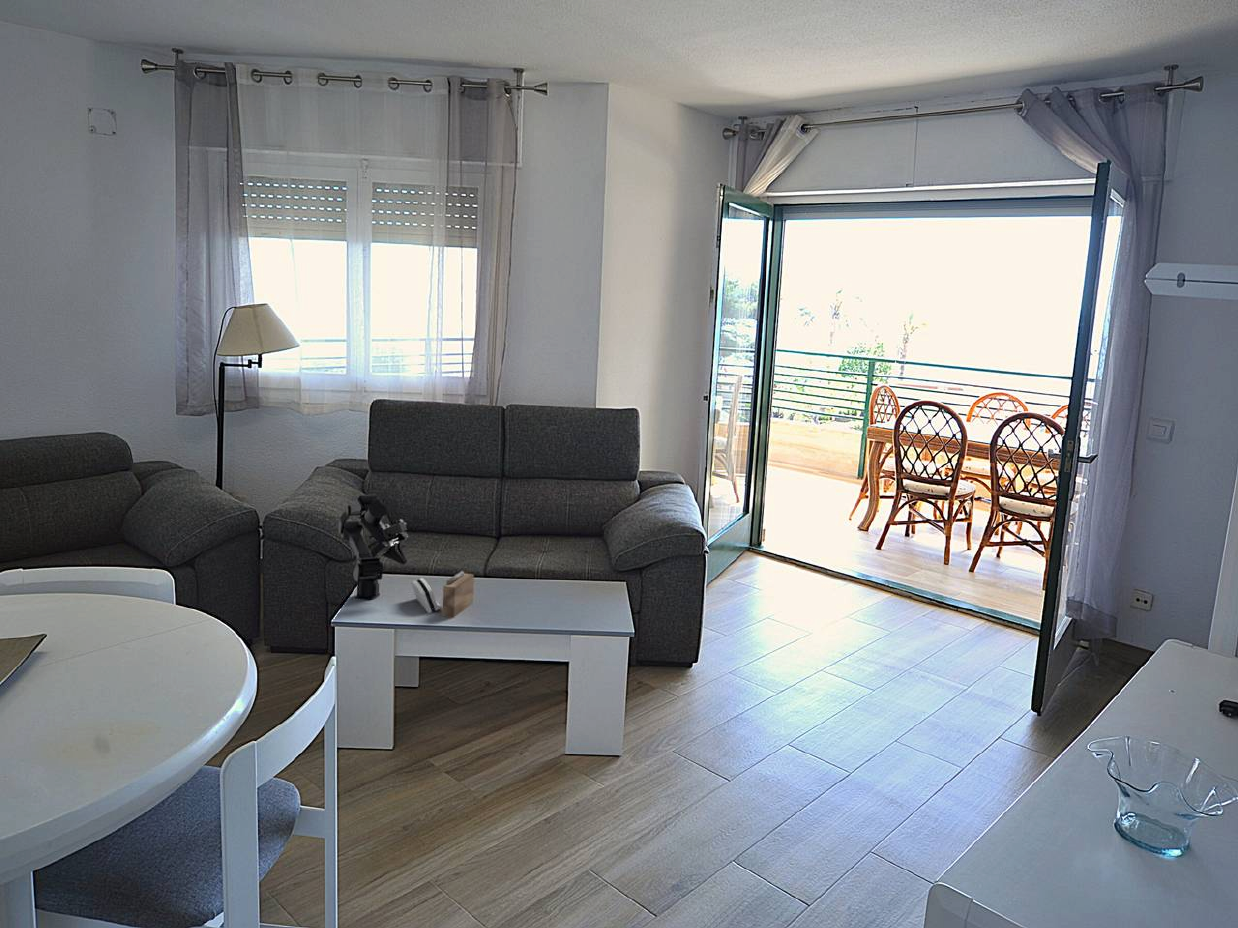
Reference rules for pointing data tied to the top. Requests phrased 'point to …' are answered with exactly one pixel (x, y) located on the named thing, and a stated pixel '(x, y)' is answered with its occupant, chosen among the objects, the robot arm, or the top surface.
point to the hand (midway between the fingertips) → (405, 563)
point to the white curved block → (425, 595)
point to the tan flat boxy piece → (457, 594)
